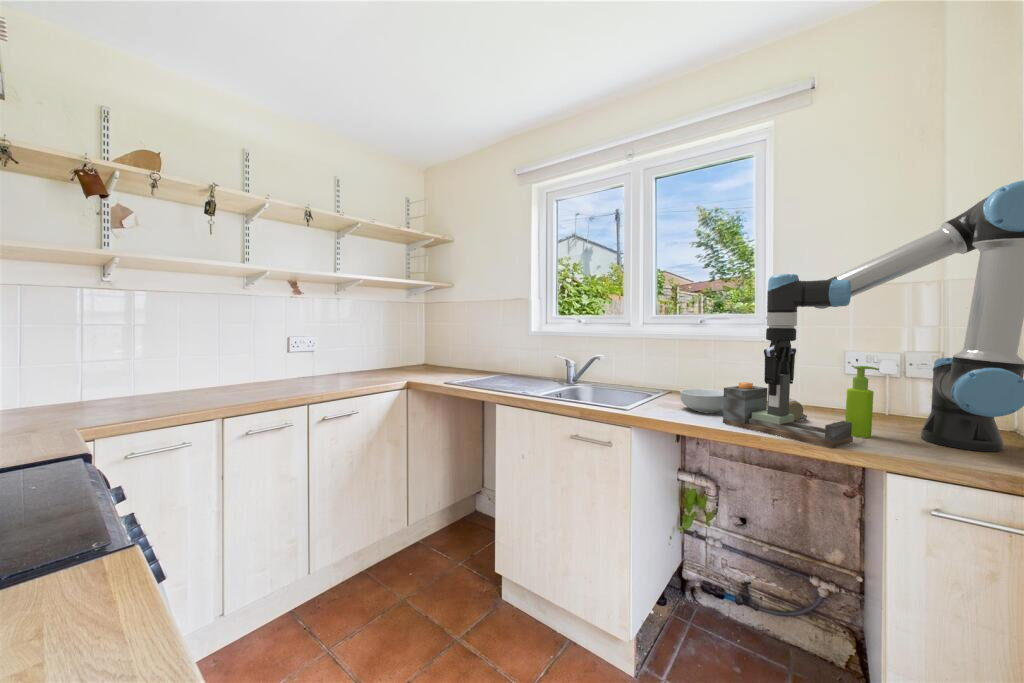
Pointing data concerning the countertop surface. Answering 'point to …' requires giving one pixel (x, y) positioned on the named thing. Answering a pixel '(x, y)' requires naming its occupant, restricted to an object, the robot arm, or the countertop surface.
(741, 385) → the button
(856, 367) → the soap dispenser
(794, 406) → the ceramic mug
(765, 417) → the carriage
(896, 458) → the countertop surface
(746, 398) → the rail track
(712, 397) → the cereal bowl
